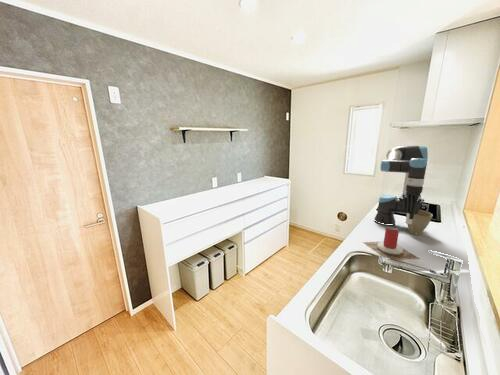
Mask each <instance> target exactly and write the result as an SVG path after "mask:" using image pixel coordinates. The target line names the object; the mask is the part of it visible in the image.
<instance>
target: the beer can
mask: <svg viewBox="0 0 500 375" xmlns="http://www.w3.org/2000/svg"><path fill="white" fill-rule="evenodd" d="M398 240H399V229H398V228H397V227H394V226H386V227H385V230H384V238H383V242H384V244H383V245H384V246H385V247H387V248H390V249H395V248H396V247H397V245H398Z"/></svg>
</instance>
